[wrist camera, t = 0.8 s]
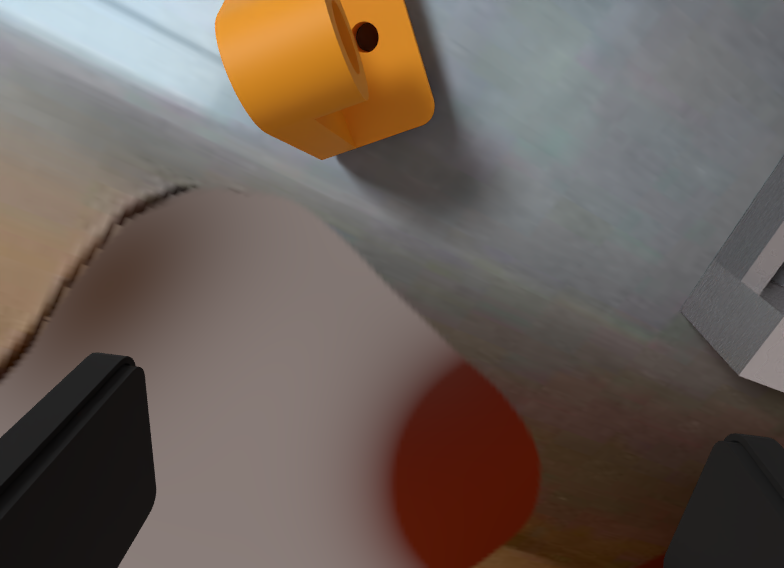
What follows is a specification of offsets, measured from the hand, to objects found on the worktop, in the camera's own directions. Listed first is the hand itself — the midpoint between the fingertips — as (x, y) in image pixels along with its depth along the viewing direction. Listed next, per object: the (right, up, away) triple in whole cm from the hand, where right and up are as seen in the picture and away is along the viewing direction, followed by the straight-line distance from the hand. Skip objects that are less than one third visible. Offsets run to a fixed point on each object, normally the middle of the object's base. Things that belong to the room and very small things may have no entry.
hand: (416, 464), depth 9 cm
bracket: (-3, +17, +23) cm, 29 cm away
